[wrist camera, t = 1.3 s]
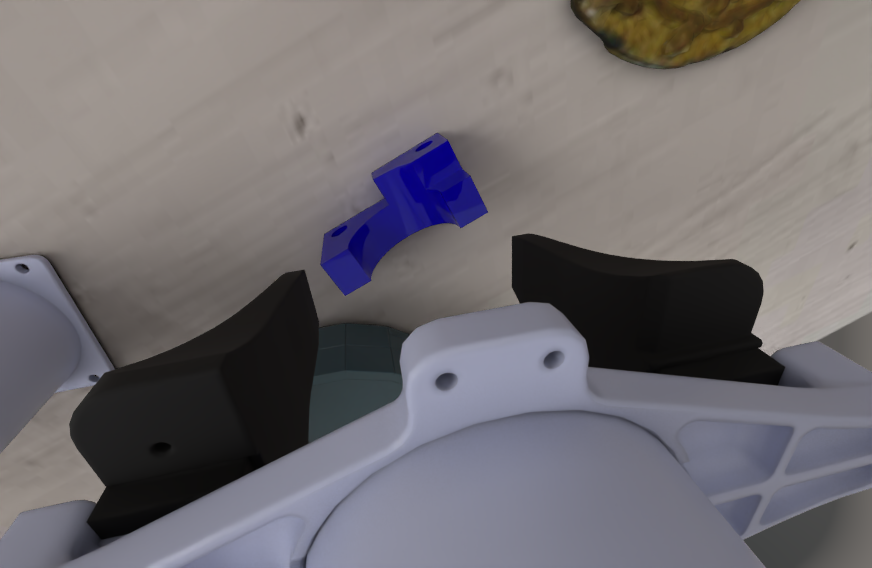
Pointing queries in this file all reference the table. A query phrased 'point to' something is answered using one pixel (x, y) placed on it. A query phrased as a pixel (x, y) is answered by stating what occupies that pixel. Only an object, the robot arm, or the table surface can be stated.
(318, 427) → the bowl
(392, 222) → the cable holder
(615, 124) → the table surface
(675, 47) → the seal
